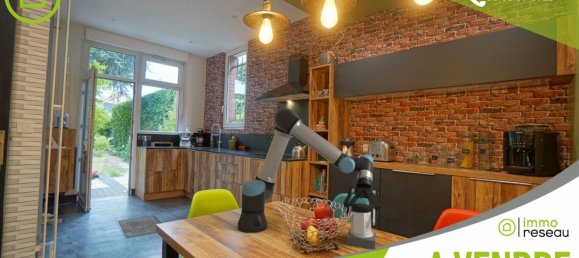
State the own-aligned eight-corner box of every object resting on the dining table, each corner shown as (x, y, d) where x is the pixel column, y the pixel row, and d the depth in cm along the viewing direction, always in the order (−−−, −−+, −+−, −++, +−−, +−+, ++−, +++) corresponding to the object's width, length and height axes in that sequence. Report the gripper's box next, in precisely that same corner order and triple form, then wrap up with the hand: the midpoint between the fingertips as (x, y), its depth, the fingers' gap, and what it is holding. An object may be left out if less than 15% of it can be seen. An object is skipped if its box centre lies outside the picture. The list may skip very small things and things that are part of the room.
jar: (360, 236, 116) (360, 208, 117) (347, 231, 123) (347, 204, 124) (374, 233, 121) (374, 205, 122) (360, 228, 128) (360, 202, 128)
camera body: (346, 244, 118) (346, 234, 119) (349, 236, 129) (349, 227, 129) (375, 249, 114) (375, 238, 115) (375, 240, 125) (376, 230, 125)
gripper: (388, 187, 133) (388, 229, 118) (342, 184, 141) (336, 223, 125) (388, 178, 128) (388, 220, 113) (341, 175, 136) (334, 214, 121)
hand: (361, 222), depth 119 cm, fingers open, 10 cm apart
